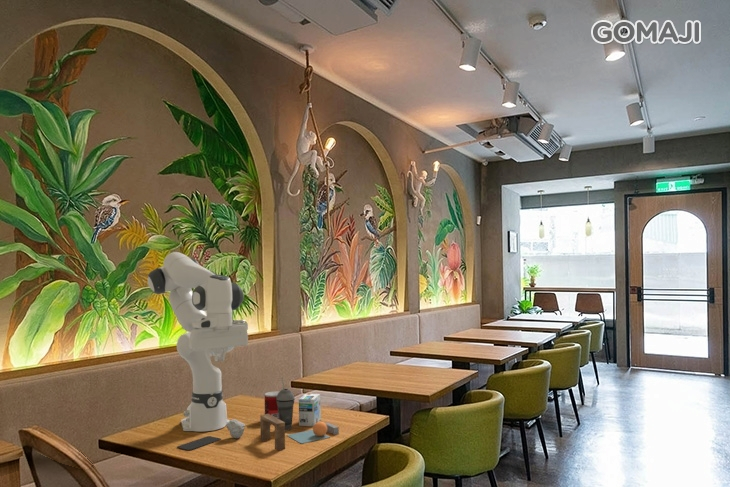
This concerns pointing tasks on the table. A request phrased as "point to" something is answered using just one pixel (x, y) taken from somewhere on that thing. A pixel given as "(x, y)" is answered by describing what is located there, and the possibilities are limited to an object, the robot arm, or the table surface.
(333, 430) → the wall
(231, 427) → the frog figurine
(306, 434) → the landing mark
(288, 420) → the beverage cup
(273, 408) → the canned food
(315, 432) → the ball
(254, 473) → the table surface
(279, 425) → the bridge
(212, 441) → the phone
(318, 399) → the light bulb box
